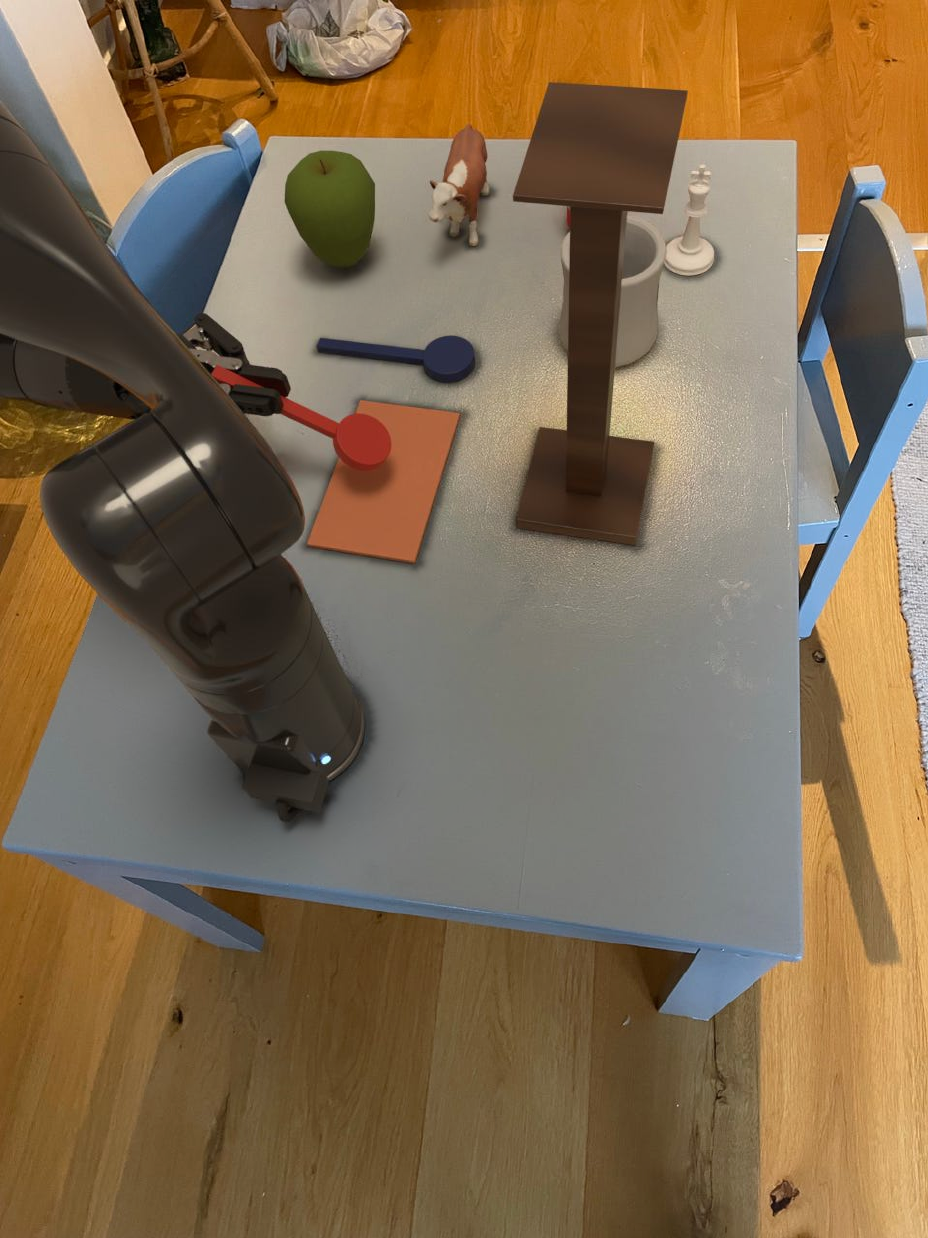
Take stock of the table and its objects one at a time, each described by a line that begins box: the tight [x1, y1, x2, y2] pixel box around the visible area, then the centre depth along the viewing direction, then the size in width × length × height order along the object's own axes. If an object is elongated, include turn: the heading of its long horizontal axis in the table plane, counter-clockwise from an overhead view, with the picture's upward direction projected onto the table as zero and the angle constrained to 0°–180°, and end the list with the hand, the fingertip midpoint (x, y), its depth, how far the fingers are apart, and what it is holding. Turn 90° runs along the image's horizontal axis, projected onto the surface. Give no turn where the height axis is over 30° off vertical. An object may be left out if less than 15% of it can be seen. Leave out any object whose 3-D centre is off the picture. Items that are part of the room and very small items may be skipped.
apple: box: [284, 150, 376, 269], centre depth 90 cm, size 9×8×12 cm
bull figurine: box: [428, 124, 490, 247], centre depth 93 cm, size 4×13×8 cm, turn 166°
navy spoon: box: [316, 335, 476, 384], centre depth 88 cm, size 5×15×1 cm, turn 76°
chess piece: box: [664, 164, 715, 277], centre depth 87 cm, size 5×5×10 cm
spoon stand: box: [512, 81, 689, 546], centre depth 65 cm, size 10×10×32 cm
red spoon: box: [212, 365, 391, 471], centre depth 76 cm, size 5×15×1 cm, turn 76°
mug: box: [558, 214, 667, 368], centre depth 84 cm, size 12×9×10 cm
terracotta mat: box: [306, 399, 461, 564], centre depth 81 cm, size 16×10×1 cm, turn 166°
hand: (283, 393), depth 74 cm, fingers closed on red spoon, 1 cm apart
